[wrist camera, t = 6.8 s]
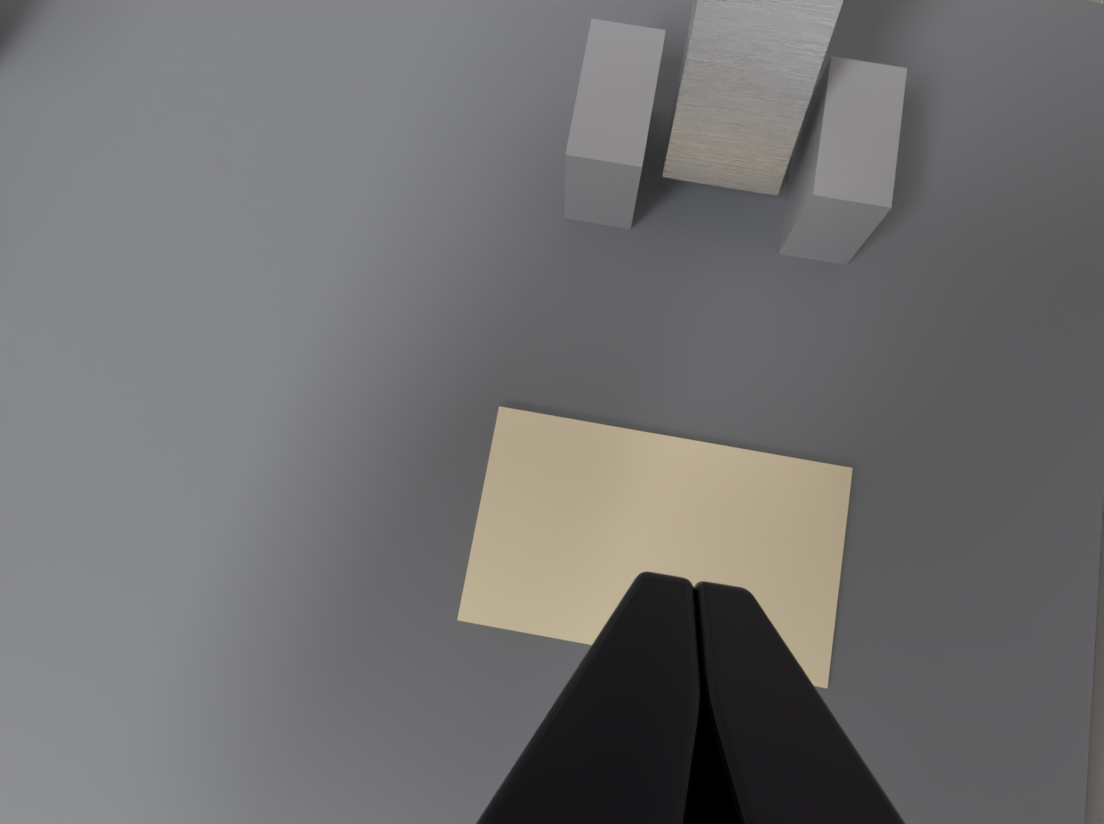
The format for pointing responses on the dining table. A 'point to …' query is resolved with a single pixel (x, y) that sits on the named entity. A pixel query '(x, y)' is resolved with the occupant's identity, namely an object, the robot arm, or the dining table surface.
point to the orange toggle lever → (745, 89)
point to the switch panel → (532, 395)
